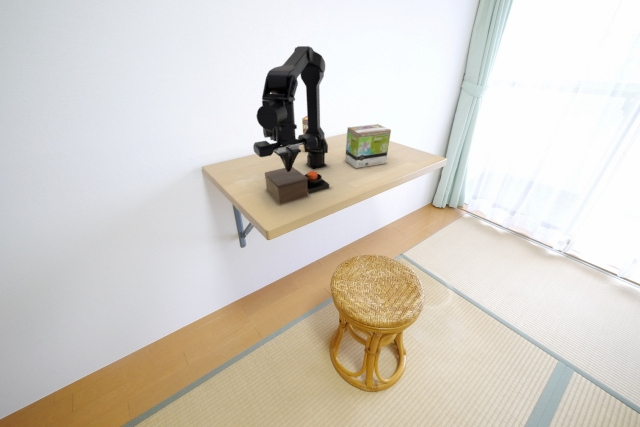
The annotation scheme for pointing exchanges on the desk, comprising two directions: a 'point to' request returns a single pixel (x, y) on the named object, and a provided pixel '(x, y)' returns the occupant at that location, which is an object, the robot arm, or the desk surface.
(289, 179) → the wooden box lid
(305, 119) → the candy box
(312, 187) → the control block
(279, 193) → the open wooden box
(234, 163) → the desk surface
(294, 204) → the desk surface
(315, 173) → the button
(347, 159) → the tea box
